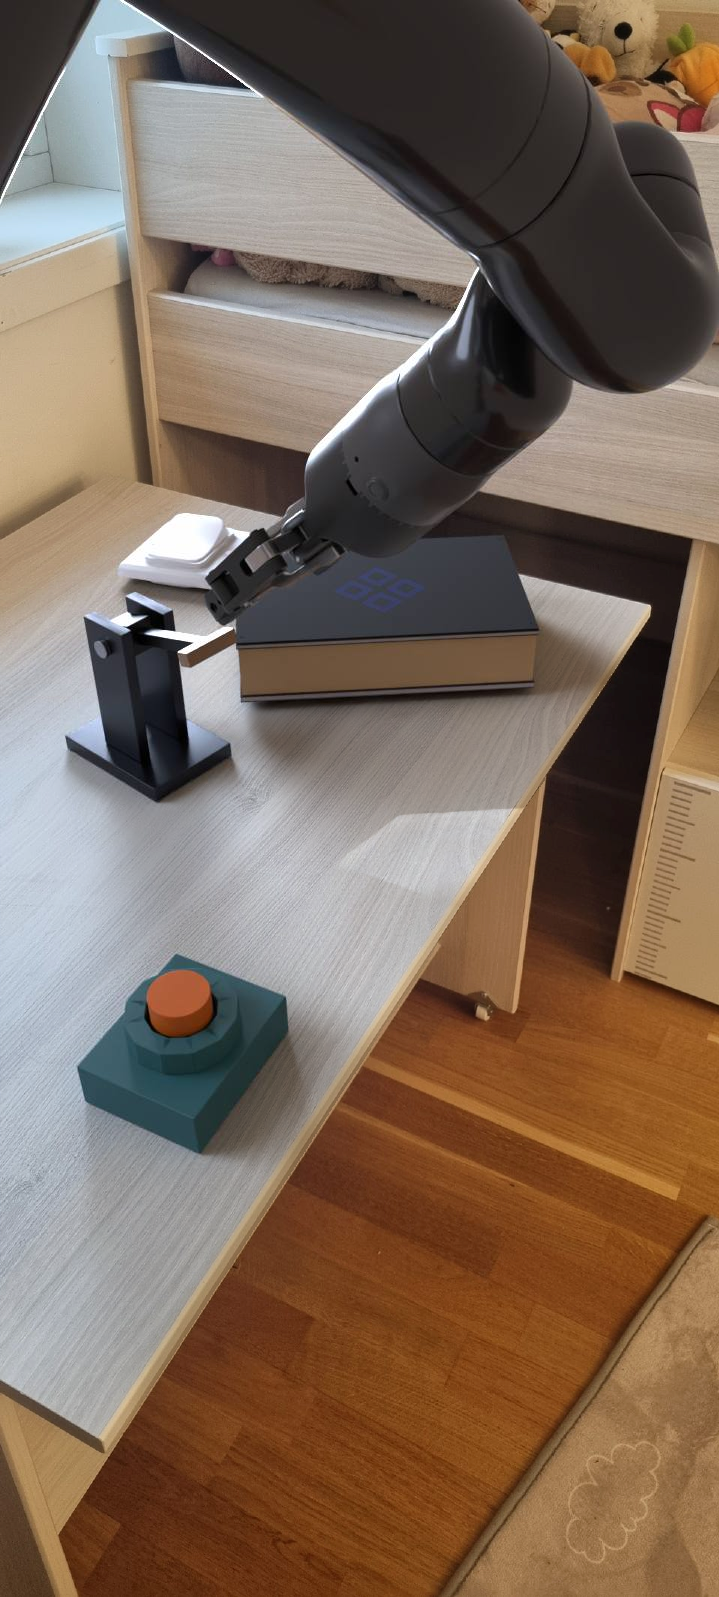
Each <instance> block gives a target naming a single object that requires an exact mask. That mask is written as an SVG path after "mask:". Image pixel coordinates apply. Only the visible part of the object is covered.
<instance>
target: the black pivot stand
mask: <svg viewBox="0 0 719 1597" xmlns="http://www.w3.org/2000/svg"><path fill="white" fill-rule="evenodd" d="M124 598H125V604H126V610H127V612H126V613H134V614H141V615H147V616H149V618H150V621H151V624H152V627H153V628H154V629H161V630H167V631H173V632H177V631H176V623H175V615H174V610H173V609H172V608H170V607H168V606H167V605H165V604H162V603H159V602H157V601H155V600H153V599H152V598H149V597H147V596H145V595H143V594H141V593H138V592H137V591H133V592H131V593H129V594H127V595H125V596H124ZM111 620H112V619H109V618H107V617H105V616H103V615H101V614H99V613H97V612H95V611H92V612H90V613H87V614H85V615H84V616H83V622H84V628H85V633H86V639H87V644H88V651H89V655H90V662H91V667H92V673H93V679H94V684H95V690H96V695H97V696H96V697H97V702H98V708H99V712H100V713H99V714H100V716H98V717H96V718H94V719H92V720H90V721H89V722H87V723H85V724H83V725H82V726H80V727H78V728H76V729H74V730H72V731H70V732H69V733H67V734H65V735H64V738H65V743H66V748H67V750H70V751H71V752H73V753H75V754H76V755H78V756H79V757H81V758H83V759H84V760H86V761H88V762H89V763H91V764H92V765H94V766H95V767H97V768H99V769H101V770H102V771H104V772H106V773H107V774H109V775H111V776H112V777H113V778H116V779H117V780H119V781H121V782H122V783H124V784H125V785H126V786H129V787H130V788H132V789H134V790H135V791H137V792H138V793H140V794H142V795H143V796H145V797H147V798H148V799H150V800H151V801H153V802H155V803H158V802H160V801H162V800H163V799H164V798H166V797H168V796H170V795H172V794H173V793H174V792H176V791H178V790H179V789H181V788H183V787H184V786H186V785H187V784H189V783H190V782H192V781H194V780H195V779H197V778H198V777H200V776H202V775H203V774H205V773H206V772H208V771H209V770H211V769H213V768H214V767H216V766H218V765H219V764H221V763H223V762H224V761H226V760H227V759H229V758H230V757H232V746H231V742H229V741H228V740H226V739H224V738H222V737H220V736H218V735H217V734H216V733H214V732H211V731H209V730H207V729H205V728H204V727H202V726H201V725H198V724H196V723H194V722H193V721H191V720H189V719H187V712H186V705H185V704H186V703H185V695H184V689H183V679H182V672H181V664H180V661H179V657H178V654H177V651H171V650H166V649H160V648H155V647H152V648H150V649H148V650H147V651H145V652H143V653H141V654H139V655H137V656H135V651H134V644H133V637H132V631H131V630H129V629H127V628H125V627H123V626H121V625H119V624H117V623H115V622H113V621H111Z"/></svg>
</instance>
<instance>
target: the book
mask: <svg viewBox="0 0 719 1597" xmlns="http://www.w3.org/2000/svg"><path fill="white" fill-rule="evenodd" d="M283 558H284V560H285V562H286V563H287V565H288V567H287V568H286V571H287V572H289V573H293V572H294V571H296V570H297V569H299V568H300V567H302V565H298V564H296V563H295V562H294V561H293V560H292V558H291V557H290V555H289V553H288V554H287V555H285V556H284V557H283ZM519 574H520V573H519V572H518V569H517V566H516V564H515V561H514V559H513V556H512V554H511V551H510V548H509V545H508V542H507V541H506V538H505V535H504V534H501V535H499V534H497V535H480V536H479V535H477V536H456V537H455V536H454V537H433V538H420V539H418V540H417V541H416V542H414V543H413V544H412V545H411V546H409V547H408V548H407V549H406V550H404V551H403V552H401V553H399V554H397V555H395V556H392V557H388V558H369V557H364V556H361V555H358V554H356V553H353V552H351V551H349V552H348V553H347V554H346V555H345V556H344V557H342V558H341V559H340V560H339V561H338V562H336V563H335V564H334V565H333V566H332V567H331V568H329V569H328V570H327V571H325V572H324V573H322V574H320V575H315V574H314V573H311V574H310V575H308V576H307V577H305V578H304V579H302V580H301V581H300V582H298V583H297V584H295V585H294V586H292V587H291V588H287V589H278V588H274V589H273V590H271V591H270V592H269V593H267V594H266V595H264V596H263V597H261V598H260V599H258V601H259V602H257V603H256V604H254V605H253V606H249V607H248V608H247V609H246V610H245V611H244V612H243V613H242V614H240V615H239V616H238V617H237V618H236V619H235V633H236V636H237V640H238V642H237V643H235V650H236V651H237V653H238V665H239V666H238V668H239V679H240V681H239V683H240V686H239V690H240V691H239V692H240V693H239V695H240V696H239V697H240V703H260V702H263V703H264V702H283V701H297V700H298V701H301V700H302V701H303V700H319V699H321V700H322V699H337V698H338V699H339V698H340V699H341V698H357V697H358V698H359V697H378V696H398V695H400V696H401V695H416V694H417V695H419V694H435V693H437V694H438V693H456V692H457V693H458V692H477V691H478V692H479V691H496V690H516V689H517V690H518V689H533V688H535V683H536V682H535V680H534V668H535V657H536V648H537V638H538V636H539V635H540V626H539V624H538V621H537V619H536V616H535V614H534V611H533V609H532V606H531V603H530V601H529V598H528V595H527V593H526V590H525V587H524V585H523V583H522V580H521V577H520V575H519Z"/></svg>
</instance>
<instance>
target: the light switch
mask: <svg viewBox="0 0 719 1597" xmlns="http://www.w3.org/2000/svg"><path fill="white" fill-rule="evenodd" d="M251 532H252V531H244V530H236V529H234V528H231V527H227V526H226V523H225V521H224V520H223V519H221V518H219V517H217V516H212V515H211V516H210V515H202V514H194V513H188V512H187V513H186V512H184V513H179V514H176V515H175V516H174V517H173V518H172V519H171V520H170V521H168V522H166V523H165V524H163V525H162V526H161V528H159V529H158V530H156V532H154V534H152V535H151V536H150V537H148V539H146V541H144V542H143V543H142V544H141V545H140V546H139V547H137V548H136V549H135V550H134V551H133V552H132V553H131V554H130V555H129V556H128V557H126V558H125V559H124V560H123V561H121V563H120V564H119V566H118V569H117V576H118V577H120V578H127V579H134V580H140V581H141V580H143V581H147V582H148V581H149V582H150V583H153V584H156V585H157V584H158V585H163V586H172V587H177V588H178V587H179V588H185V589H187V588H197V589H206V590H211V589H212V588H211V586H209V585H208V583H207V582H206V580H205V577H206V576H207V575H208V574H209V572H210V571H211V570H213V569H215V568H216V567H217V566H218V565H219V564H220V563H221V562H222V561H223V560H224V559H225V558H226V557H227V556H228V555H229V554H230V553H231V552H232V551H233V550H235V549H236V548H237V547H238V546H239V545H240V544H241V543H242V542H243V541H244V540H245V539H246V538H247V537H248V536H249V535H250V533H251Z"/></svg>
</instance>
